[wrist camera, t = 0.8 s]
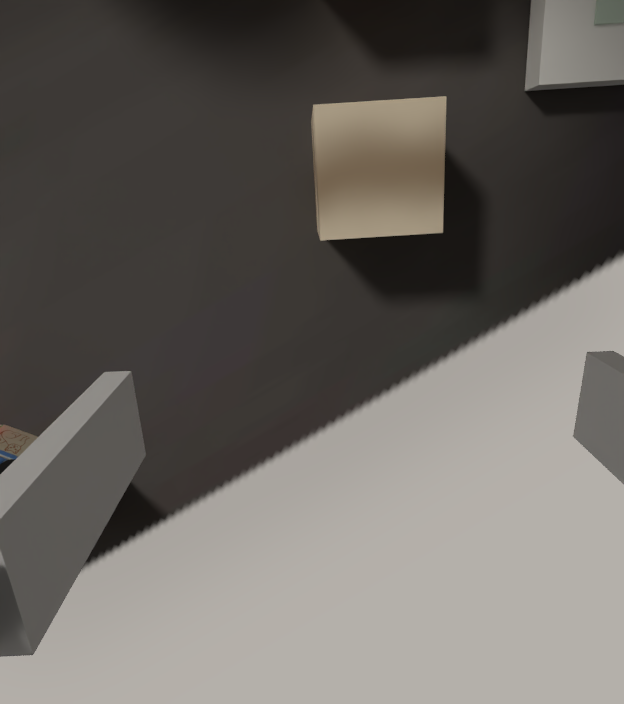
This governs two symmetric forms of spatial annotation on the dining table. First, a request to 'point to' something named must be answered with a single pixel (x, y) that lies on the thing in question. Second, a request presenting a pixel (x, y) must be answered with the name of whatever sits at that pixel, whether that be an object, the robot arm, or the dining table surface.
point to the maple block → (379, 167)
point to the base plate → (575, 44)
